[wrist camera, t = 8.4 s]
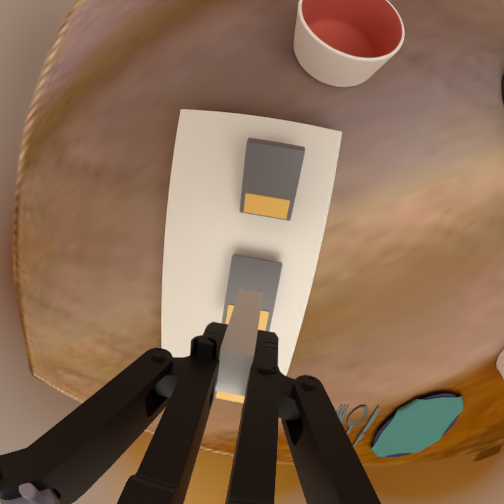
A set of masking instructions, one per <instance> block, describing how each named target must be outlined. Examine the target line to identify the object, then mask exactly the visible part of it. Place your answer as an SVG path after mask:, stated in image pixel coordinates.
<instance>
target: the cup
mask: <svg viewBox="0 0 504 504" xmlns="http://www.w3.org/2000/svg"><path fill="white" fill-rule="evenodd" d="M404 36H405V32H404V26H403V22H402V20H401V17H400V15H399V14H398V12H397V10H396V9H395V8H394V7H393V5H392V4H391V3H390V2H389V1H388V0H299V3H298V10H297V19H296V27H295V36H294V52H295V55H296V58H297V60H298V62H299V63H300V65H301V66H302V67H303V69H304V70H305V71H306V72H307V73H308V74H310V75H311V76H312V77H314V78H315V79H317V80H319V81H321V82H323V83H325V84H328V85H332V86H337V87H350V86H355V85H358V84H361V83H363V82H365V81H366V80H368V79H369V78H370V77H371V76H372V75H373V74H374V73H375V72H376V71H377V70H378V69H380V68H381V67H382V66H383V65H384V64H385V63H386V62H387V61H388V60H389V59H390V58H391V57H392V56H393V55H395V54H396V53H397V52H398V51H399V49H400V48H401V46H402V44H403V41H404Z"/></svg>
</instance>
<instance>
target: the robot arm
mask: <svg viewBox="0 0 504 504" xmlns="http://www.w3.org/2000/svg"><path fill="white" fill-rule="evenodd" d="M502 95H503V101H504V76H503V81H502ZM262 296H263V293H260V292H254V291H248V290H243V289H240V290H239V293H238V296H237V299H236V302H235V305H234V308H233V311H232V314H231V317H230V320H229V324H228V325H227V324H222V323H217V322H211V323H210V324H208V325H207V326H206V328H205V331H204V333H203V335H200V336H196V337H194V338H193V339H192V340H191V348H190V356H187V357H173V356H172V354H171V353H170V352H169V351H168V350H166V349H163V348H153V349H150V350H148V351H146V352H145V353H144V354H143V355H142V356H140V357H139V358H138V359H137V360H135V361H134V362H133V363H132V364H131V365H129V366H128V367H127V368H126V369H124V370H123V371H122V372H121V373H120V374H118V375H117V376H116V377H115V378H113V379H112V380H111V381H110V382H108V383H107V384H106V385H105V386H104V387H102V388H101V389H100V390H99V391H97V392H96V393H95V394H94V395H92V396H91V397H90V398H89V399H87V400H86V401H85V402H84V403H82V404H81V405H80V406H79V407H77V408H76V409H75V410H74V411H73V412H71V413H70V414H69V415H68V416H66V417H65V418H64V419H63V420H61V421H60V422H59V423H58V424H56V425H55V426H54V427H52V428H51V429H50V430H49V431H48V432H46V433H45V434H44V435H43V436H41V437H40V438H39V439H37V440H36V441H35V442H34V443H32V444H31V445H30V446H29V447H27V448H25V449H21V450H18V451H15V452H11V453H8V454H4V455H0V502H1V504H71V503H73V502H75V501H76V500H77V499H78V498H79V497H80V496H82V495H83V494H84V493H85V492H86V491H87V490H88V489H89V488H90V487H91V486H92V485H93V484H94V483H95V482H96V481H97V480H98V479H99V478H100V477H101V476H102V475H103V474H104V473H105V472H106V471H107V470H108V469H109V468H110V467H111V466H112V465H113V464H114V463H115V461H116V460H117V459H118V458H119V457H120V456H121V455H122V454H123V453H124V452H125V451H126V450H127V449H128V448H129V446H131V444H132V443H133V442H134V441H135V440H136V439H137V438H138V437H139V436H140V435H141V433H143V431H144V430H145V429H146V428H147V427H148V426H149V425H150V424H151V423H152V422H153V420H154V419H155V418H156V417H157V416H158V415H159V414H160V413H161V412H162V410H163V409H164V408H165V407H166V408H165V411H164V413H163V415H162V417H161V420H160V422H159V424H158V426H157V428H156V431H155V433H154V435H153V438H152V440H151V442H150V444H149V446H148V449H147V451H146V453H145V456H144V458H143V460H142V462H141V464H140V467H139V469H138V471H137V473H136V474H135V475H132V476H130V478H129V479H128V481H127V482H126V485H125V487H124V489H123V491H122V494H121V496H120V498H119V500H118V503H117V504H183V503H184V500H185V496H186V492H187V489H188V486H189V482H190V479H191V475H192V472H193V468H194V465H195V461H196V458H197V454H198V451H199V448H200V444H201V441H202V437H203V434H204V430H205V427H206V423H207V420H208V416H209V413H210V409H211V406H212V402H213V399H214V391H220V392H225V393H230V394H235V395H241V396H245V398H244V403H243V408H242V412H241V413H242V414H241V420H240V426H239V431H238V437H237V443H236V448H235V454H234V459H233V465H232V470H231V475H230V481H229V486H228V491H227V497H226V502H225V504H274V494H275V477H276V460H277V440H278V417H279V418H281V421H282V425H283V428H284V431H285V435H286V438H287V441H288V444H289V448H290V451H291V454H292V458H293V461H294V464H295V467H296V470H297V474H298V476H299V480H300V483H301V486H302V489H303V493H304V496H305V499H306V502H307V504H381V503H380V501H379V499H378V497H377V495H376V493H375V491H374V488H373V486H372V484H371V483H370V480H369V478H368V476H367V474H366V472H365V470H364V468H363V466H362V464H361V462H360V460H359V458H358V456H357V454H356V452H355V450H354V448H353V446H352V444H351V441H350V439H349V437H348V435H347V433H346V431H345V429H344V427H343V425H342V423H341V421H340V419H339V417H338V415H337V413H336V411H335V409H334V407H333V405H332V403H331V401H330V399H329V397H328V395H327V393H326V391H325V389H324V387H323V385H322V383H321V382H320V381H319V380H318V379H317V378H315V377H312V376H308V375H303V376H299V377H297V378H296V379H292V378H289V377H287V376H285V375H284V374H282V373H281V372H280V370H279V367H278V341H279V338H278V336H277V335H276V333H275V332H269V331H264V330H258V325H259V318H260V311H261V304H262Z"/></svg>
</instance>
